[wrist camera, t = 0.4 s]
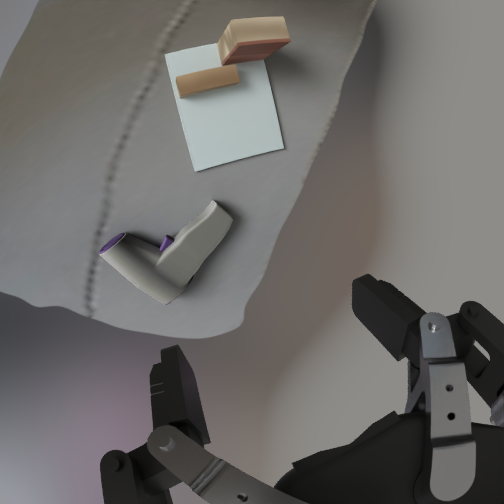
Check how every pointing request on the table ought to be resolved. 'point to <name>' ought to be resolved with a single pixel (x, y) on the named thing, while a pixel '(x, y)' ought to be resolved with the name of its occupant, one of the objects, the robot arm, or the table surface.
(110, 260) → the infrared thermometer
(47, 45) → the table surface
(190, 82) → the rail
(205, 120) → the silicone mat
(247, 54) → the wooden block
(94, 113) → the table surface
